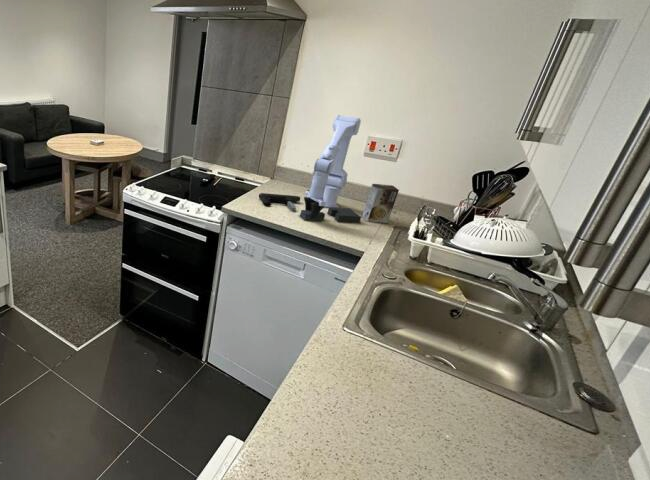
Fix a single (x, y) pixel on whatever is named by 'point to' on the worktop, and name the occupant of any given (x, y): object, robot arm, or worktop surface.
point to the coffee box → (380, 203)
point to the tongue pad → (310, 215)
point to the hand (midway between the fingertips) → (310, 215)
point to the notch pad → (344, 215)
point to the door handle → (279, 199)
